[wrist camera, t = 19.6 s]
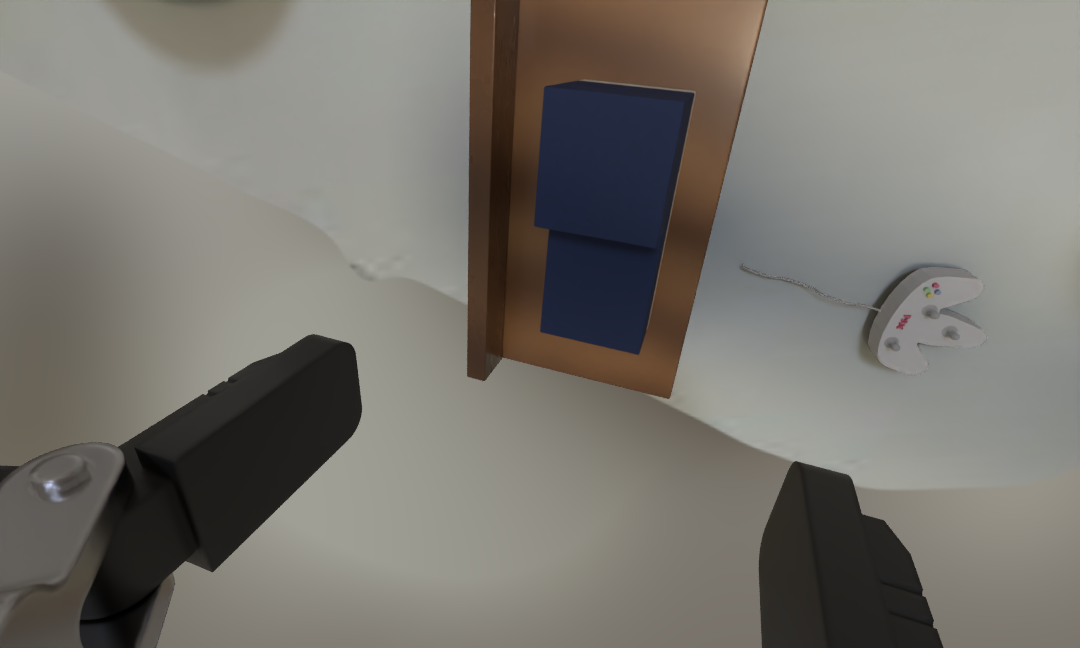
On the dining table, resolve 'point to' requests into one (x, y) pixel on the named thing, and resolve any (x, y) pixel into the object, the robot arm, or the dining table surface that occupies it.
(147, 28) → the dining table surface
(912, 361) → the game controller
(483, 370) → the shelf
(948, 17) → the dining table surface
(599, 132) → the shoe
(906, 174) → the dining table surface
